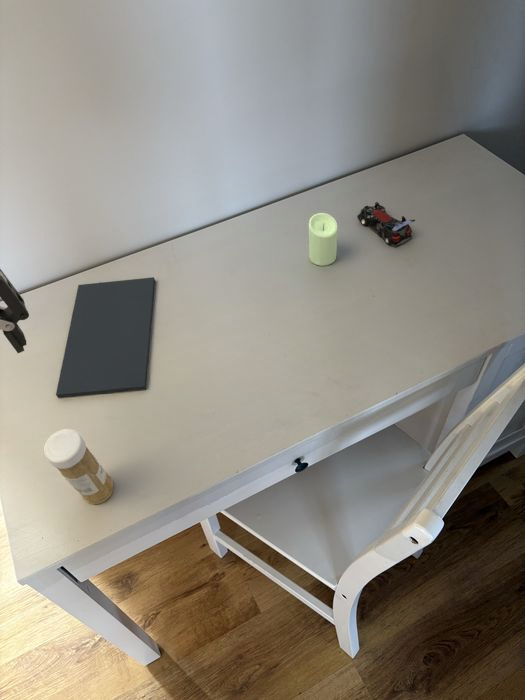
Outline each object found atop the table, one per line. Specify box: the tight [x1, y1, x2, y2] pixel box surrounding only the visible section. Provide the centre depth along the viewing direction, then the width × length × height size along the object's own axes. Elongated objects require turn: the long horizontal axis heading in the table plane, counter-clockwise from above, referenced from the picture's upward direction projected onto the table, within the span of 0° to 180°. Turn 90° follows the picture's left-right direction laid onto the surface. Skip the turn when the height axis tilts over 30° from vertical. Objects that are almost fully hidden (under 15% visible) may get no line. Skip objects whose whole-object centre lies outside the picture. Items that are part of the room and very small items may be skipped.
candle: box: [308, 212, 339, 267], centre depth 96 cm, size 5×5×8 cm
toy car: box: [356, 201, 416, 248], centre depth 101 cm, size 6×12×4 cm, turn 33°
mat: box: [55, 276, 156, 399], centre depth 91 cm, size 24×14×1 cm, turn 4°
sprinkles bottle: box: [43, 428, 114, 505], centre depth 69 cm, size 5×5×13 cm
